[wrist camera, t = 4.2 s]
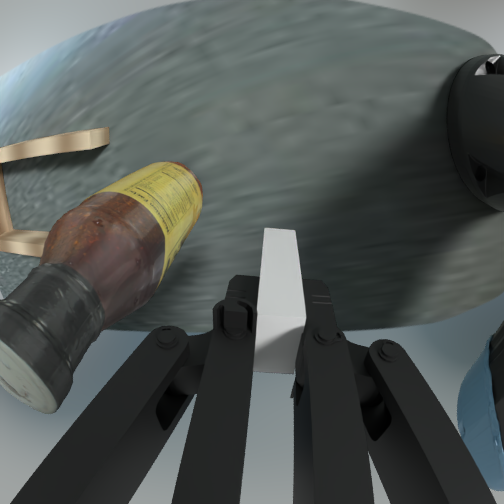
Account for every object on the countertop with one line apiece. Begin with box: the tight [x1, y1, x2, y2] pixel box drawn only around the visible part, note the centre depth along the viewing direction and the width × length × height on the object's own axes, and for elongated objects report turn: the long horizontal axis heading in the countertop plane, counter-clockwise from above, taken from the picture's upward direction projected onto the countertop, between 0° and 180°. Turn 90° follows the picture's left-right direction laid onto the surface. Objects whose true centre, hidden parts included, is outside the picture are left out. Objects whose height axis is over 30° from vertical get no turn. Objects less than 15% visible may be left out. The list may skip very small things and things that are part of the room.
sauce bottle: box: [0, 161, 203, 414], centre depth 15 cm, size 6×6×20 cm
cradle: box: [0, 127, 109, 257], centre depth 23 cm, size 22×12×4 cm, turn 87°
